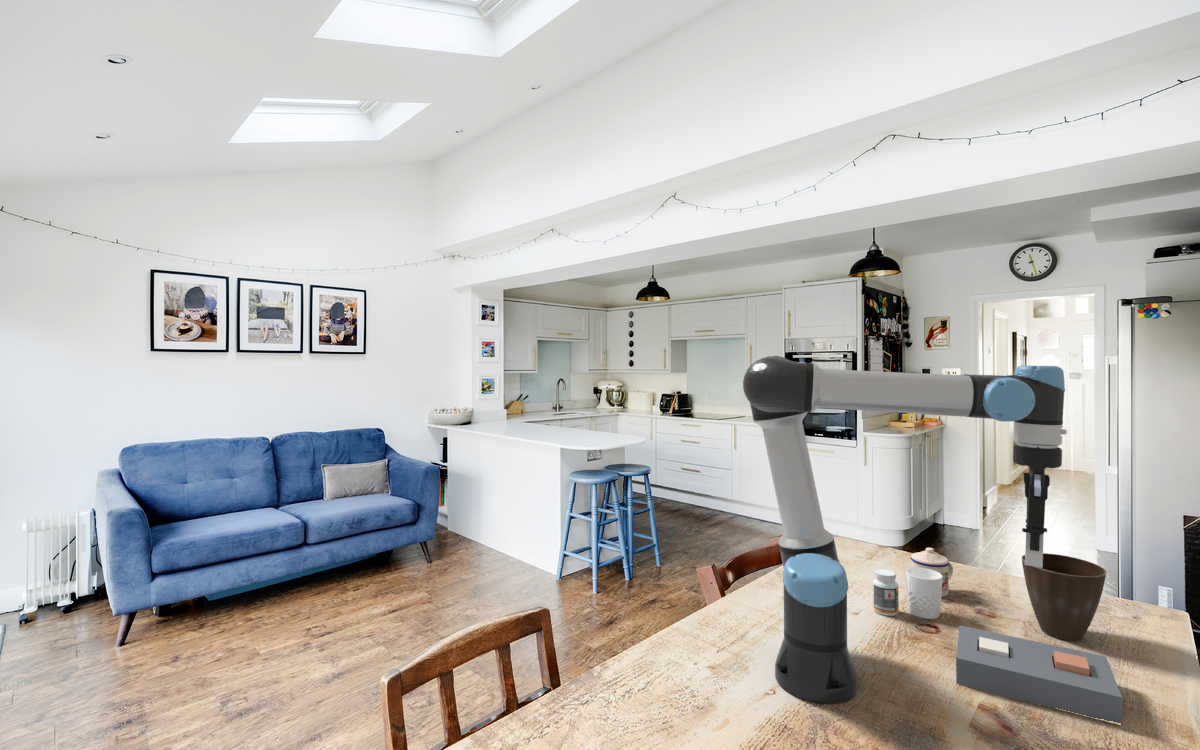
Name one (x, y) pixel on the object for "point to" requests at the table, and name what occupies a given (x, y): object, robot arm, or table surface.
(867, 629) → the table surface
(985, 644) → the ivory plug
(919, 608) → the white cup
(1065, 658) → the terracotta plug
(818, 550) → the robot arm
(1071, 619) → the plant pot
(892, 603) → the pill bottle
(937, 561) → the teacup with lid
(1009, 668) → the socket block
